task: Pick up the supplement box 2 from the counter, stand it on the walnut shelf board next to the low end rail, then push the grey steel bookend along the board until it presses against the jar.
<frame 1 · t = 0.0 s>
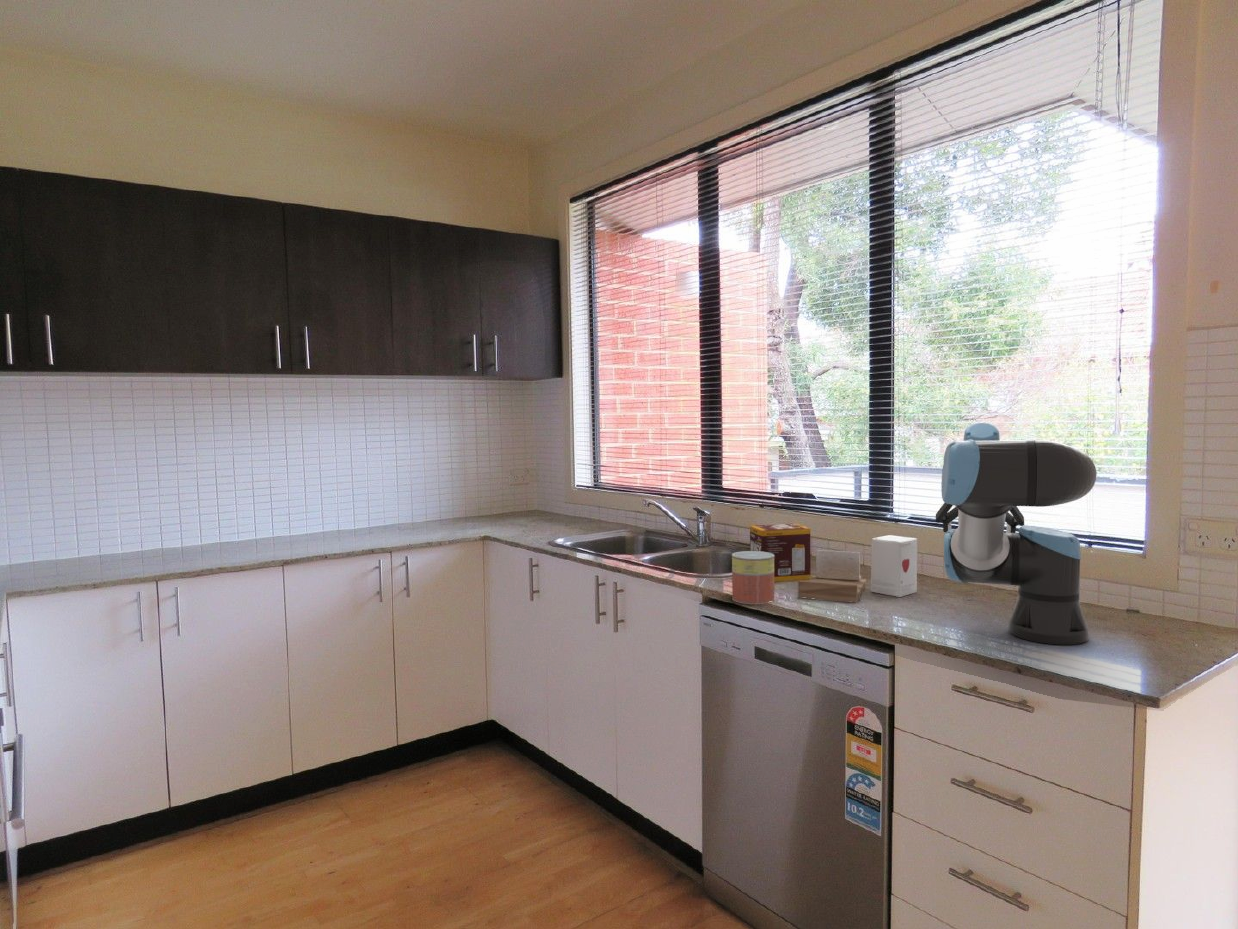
hand: (978, 541, 197), 15 cm above the worktop, tool tilted 35°, fingers open, 13 cm apart
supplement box: (779, 578, 228), on the worktop
canned food: (753, 599, 203), on the worktop
shelf board: (833, 591, 210), on the worktop
bookend: (838, 564, 218), point 6 cm above the worktop, slide at 0.0 cm
supplement box 2: (893, 593, 207), on the worktop
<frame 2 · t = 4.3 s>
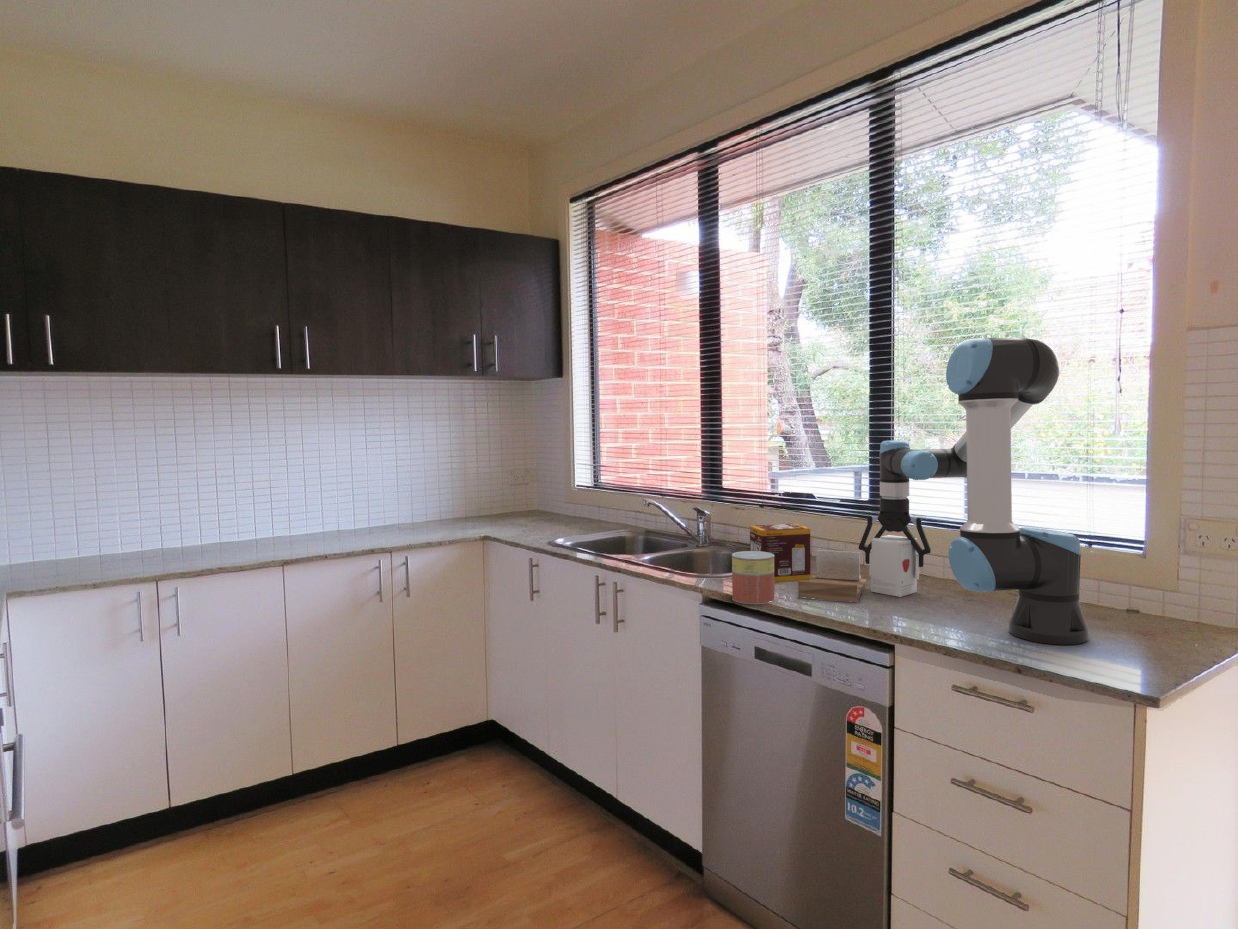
hand: (894, 577, 207), 4 cm above the worktop, tool pointing down, fingers closed on supplement box 2, 11 cm apart
supplement box 2: (894, 593, 207), on the worktop, touching gripper
everything else where it was.
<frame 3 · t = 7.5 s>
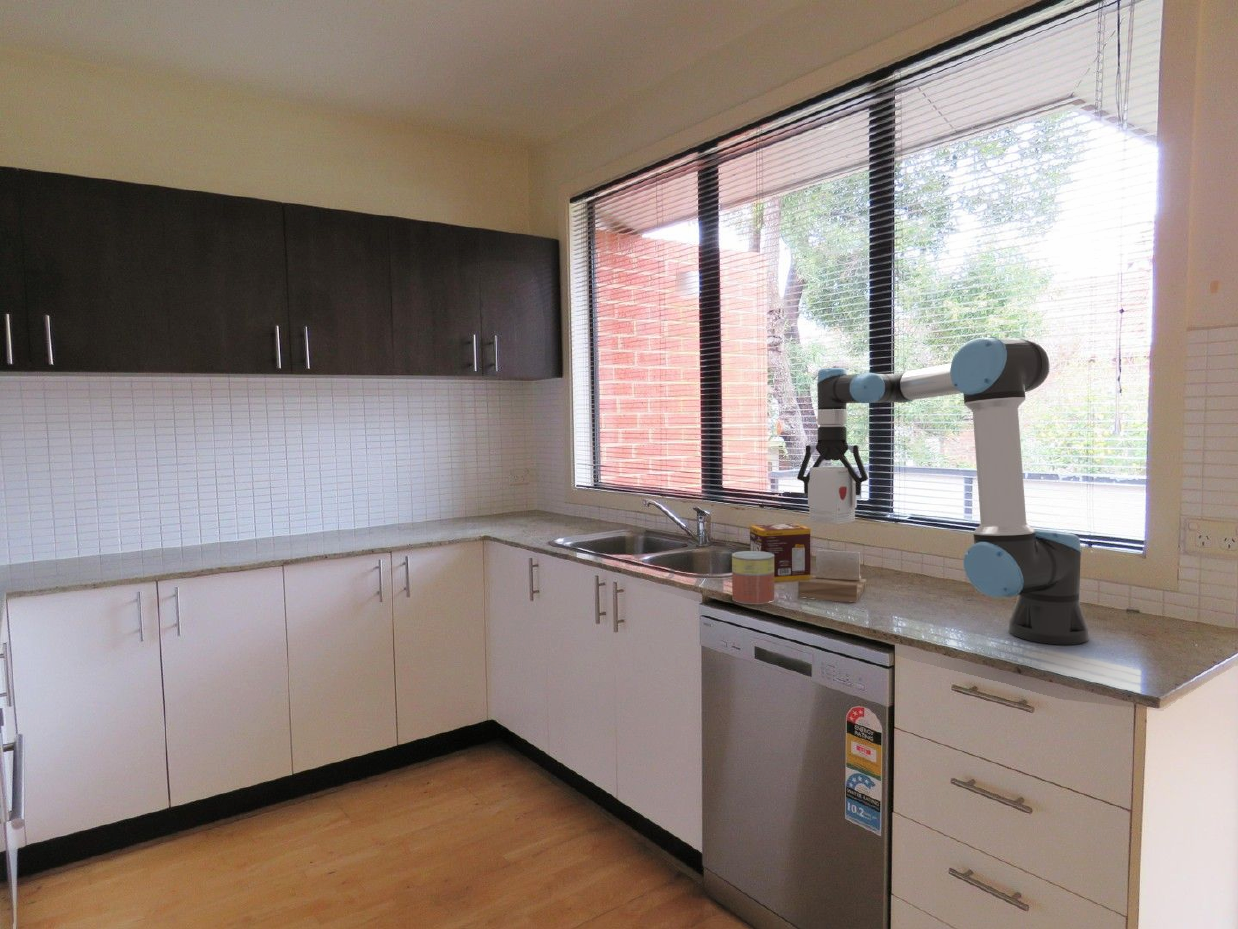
hand: (832, 506, 206), 24 cm above the worktop, tool pointing down, fingers closed on supplement box 2, 11 cm apart
supplement box 2: (832, 522, 206), point 19 cm above the worktop, touching gripper
everything else where it was.
when the fingers open (7 cm above the worktop, at t = 11.1 s): supplement box 2 drops 2 cm, resting on shelf board.
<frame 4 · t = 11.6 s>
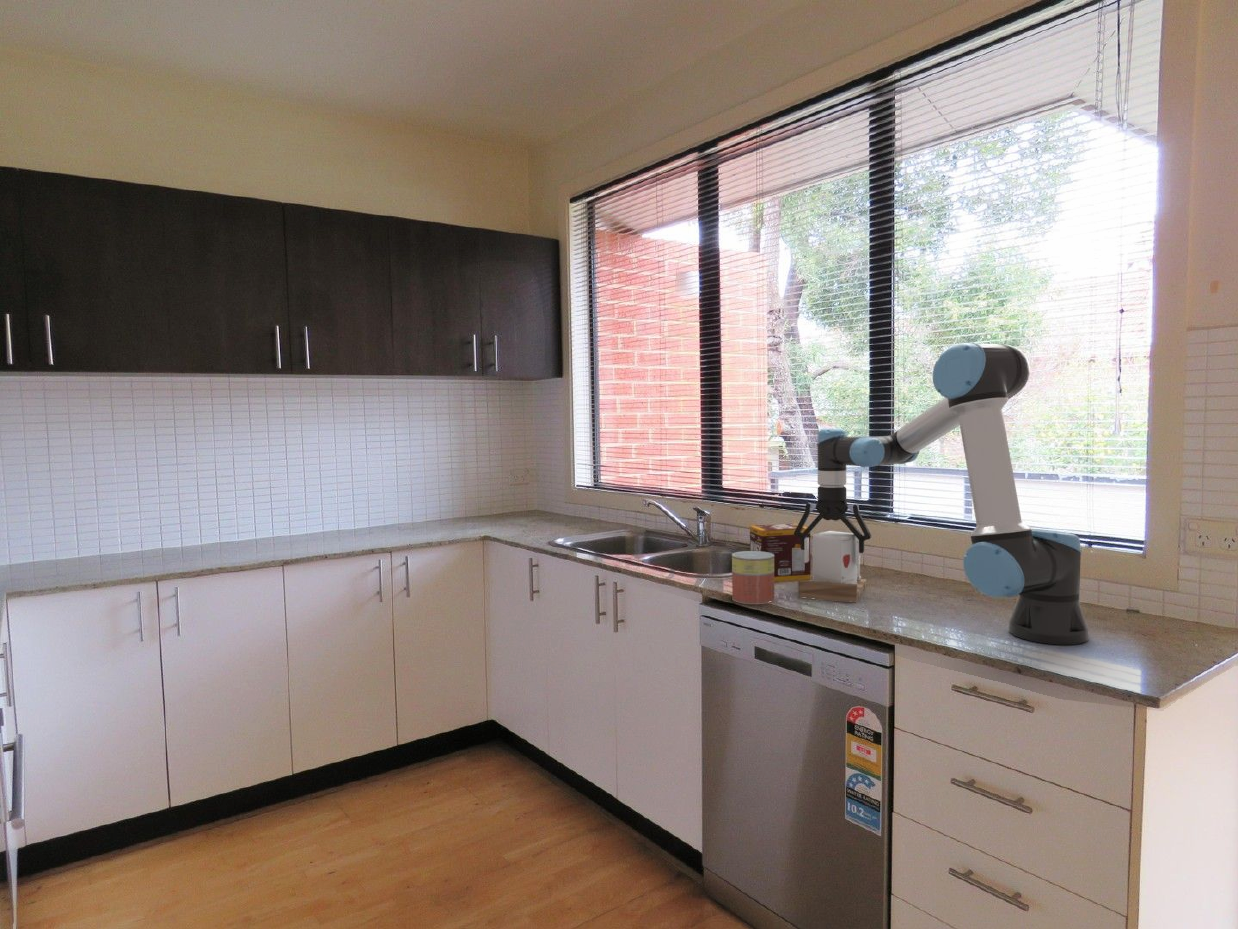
hand: (832, 563, 207), 8 cm above the worktop, tool pointing down, fingers open, 13 cm apart
supplement box 2: (835, 588, 207), point 1 cm above the worktop, touching shelf board
everything else where it was.
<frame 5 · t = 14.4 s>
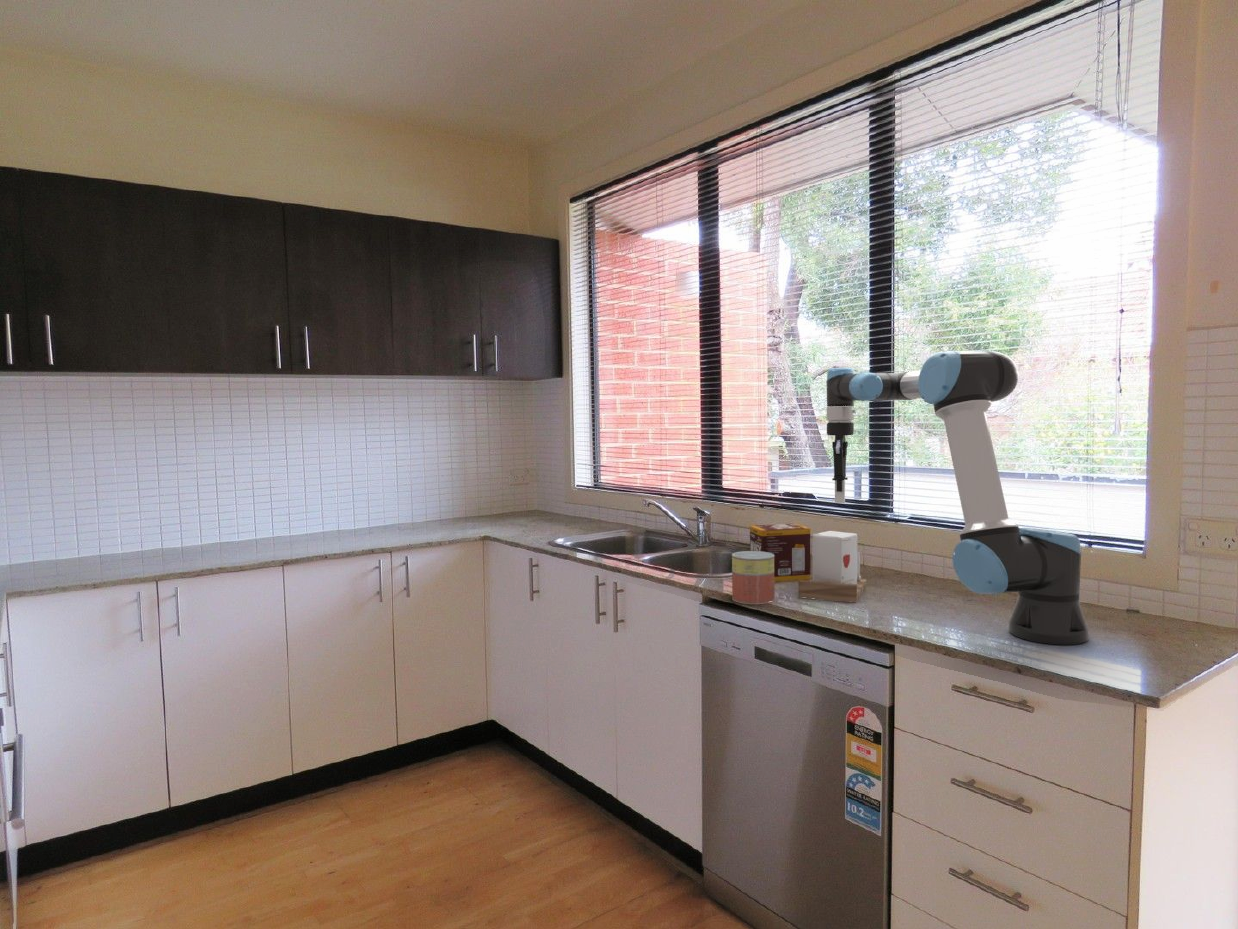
hand: (839, 502, 221), 23 cm above the worktop, tool pointing down, fingers closed
nothing on the worktop moved.
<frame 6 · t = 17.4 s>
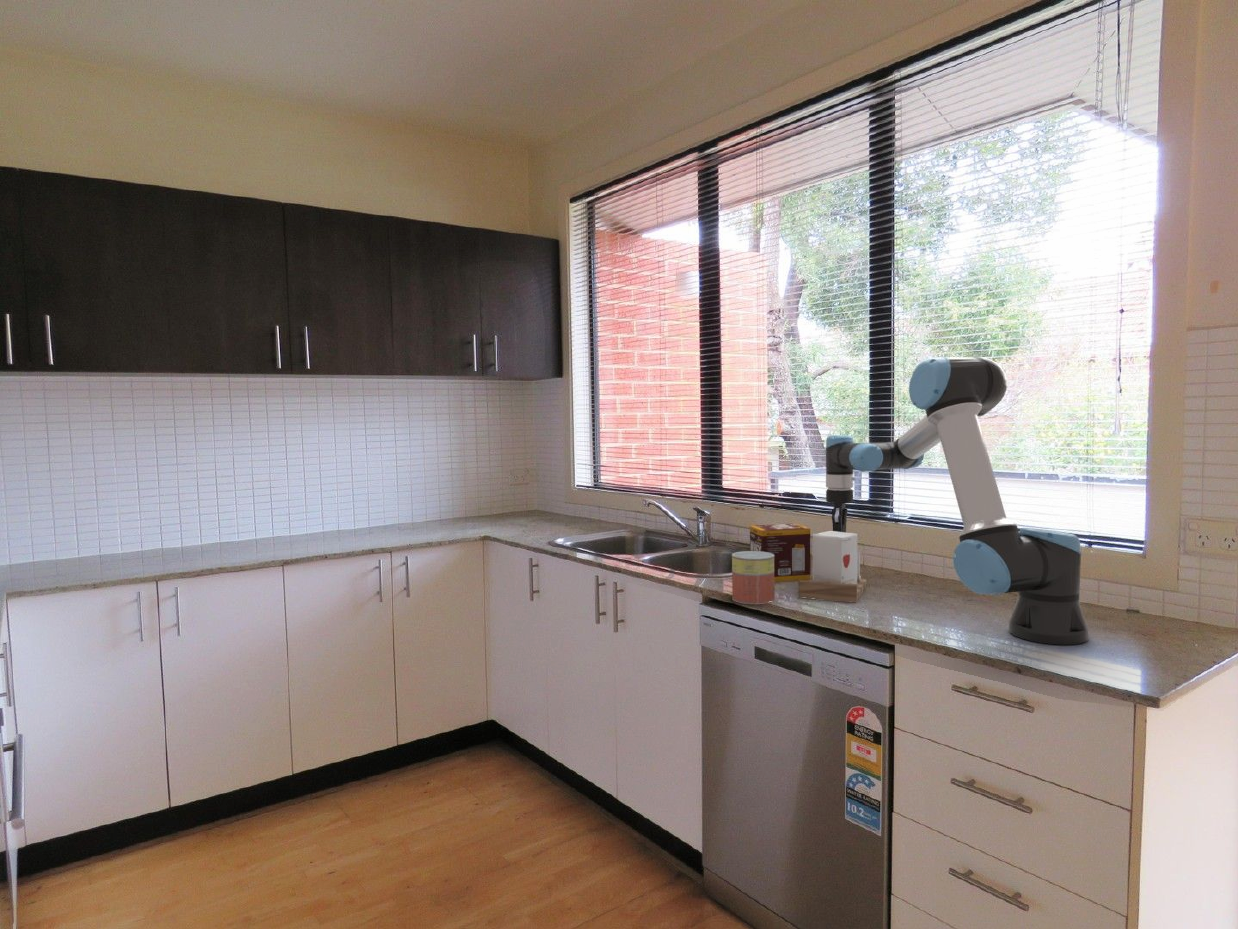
hand: (839, 569, 220), 4 cm above the worktop, tool pointing down, fingers closed
bookend: (838, 564, 218), point 6 cm above the worktop, slide at 0.0 cm, touching gripper
everything else where it was.
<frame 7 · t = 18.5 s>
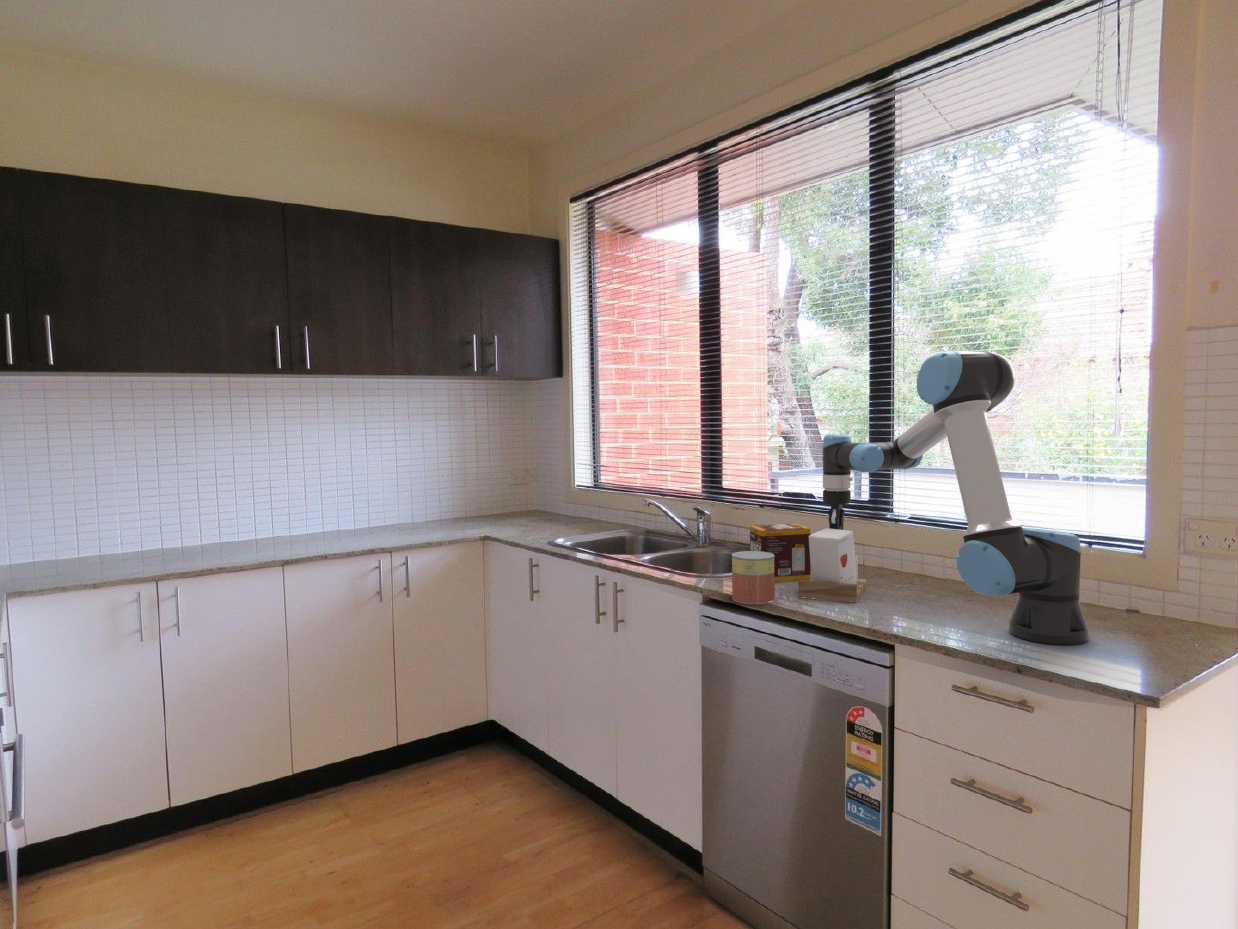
hand: (836, 571, 215), 4 cm above the worktop, tool pointing down, fingers closed
bookend: (835, 567, 214), point 6 cm above the worktop, slide at 5.1 cm, touching gripper
supplement box 2: (834, 586, 207), point 2 cm above the worktop, touching hand, shelf board
everything else where it was.
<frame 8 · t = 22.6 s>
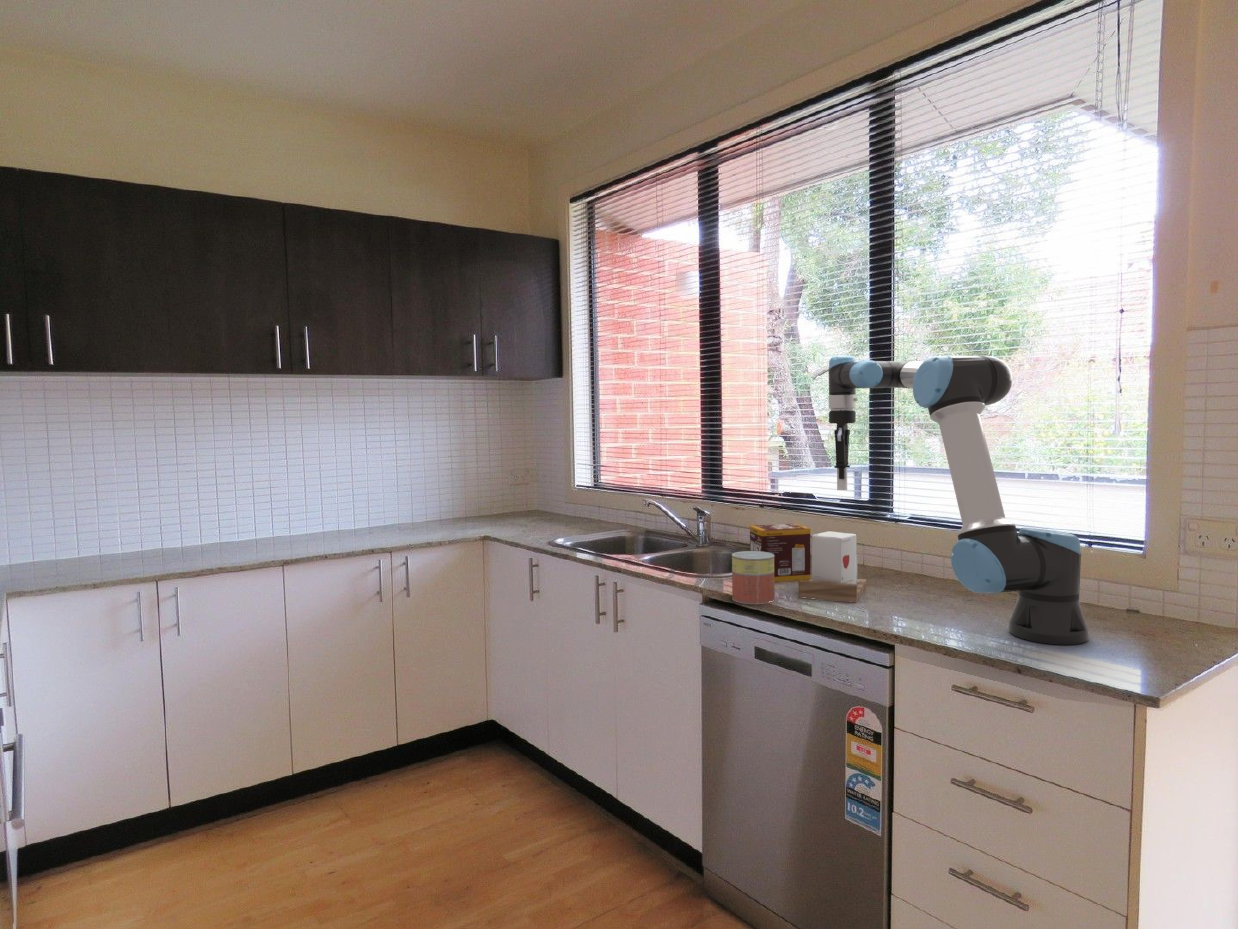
hand: (842, 489, 224), 26 cm above the worktop, tool pointing down, fingers closed
bookend: (835, 567, 213), point 6 cm above the worktop, slide at 5.6 cm
supplement box 2: (834, 589, 206), point 1 cm above the worktop, touching shelf board
everything else where it was.
at the end: supplement box 2 inside the target area (1.7 cm from its centre), point 1.3 cm above the worktop; supplement box 2 tilted 0°; bookend slide at 5.6 cm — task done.
